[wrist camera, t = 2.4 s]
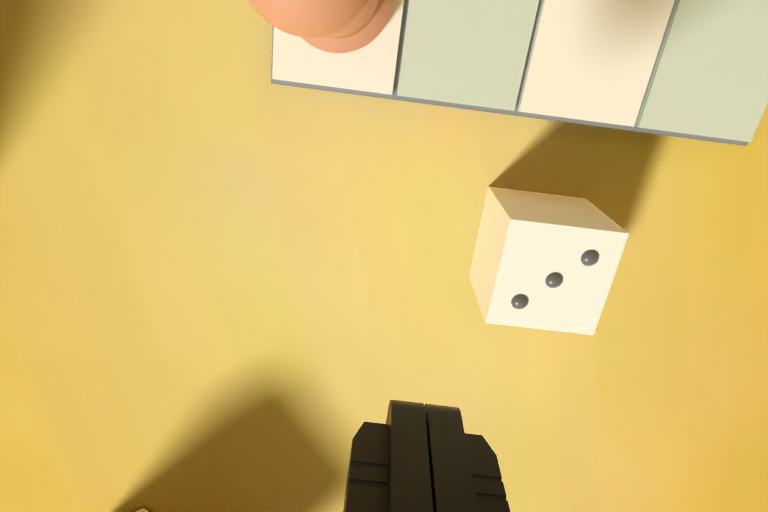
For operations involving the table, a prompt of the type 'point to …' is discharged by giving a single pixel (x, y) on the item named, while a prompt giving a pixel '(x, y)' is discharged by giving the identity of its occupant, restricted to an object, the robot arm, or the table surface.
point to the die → (544, 260)
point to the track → (561, 62)
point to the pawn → (328, 21)
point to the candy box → (142, 510)
